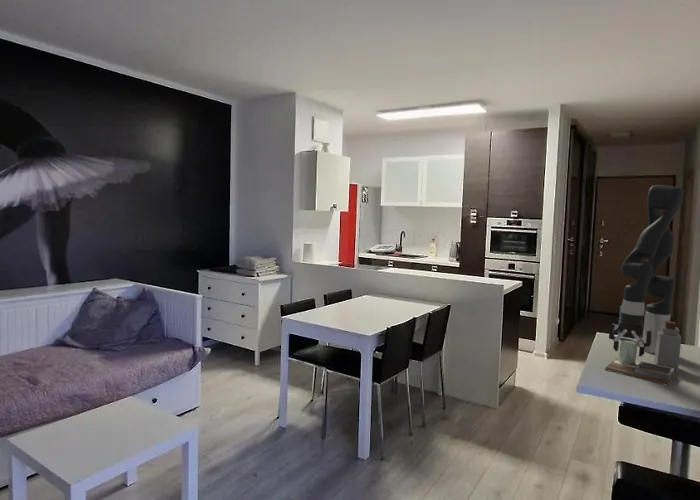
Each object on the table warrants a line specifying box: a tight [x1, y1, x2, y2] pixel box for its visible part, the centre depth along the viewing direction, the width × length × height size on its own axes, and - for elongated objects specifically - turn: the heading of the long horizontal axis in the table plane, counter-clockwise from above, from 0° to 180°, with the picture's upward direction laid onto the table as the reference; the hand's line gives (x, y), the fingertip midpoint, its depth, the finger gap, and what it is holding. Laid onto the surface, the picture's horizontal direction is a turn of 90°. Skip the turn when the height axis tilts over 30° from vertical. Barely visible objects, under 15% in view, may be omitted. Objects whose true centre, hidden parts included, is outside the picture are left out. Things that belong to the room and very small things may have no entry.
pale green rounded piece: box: [618, 340, 638, 365], centre depth 183 cm, size 6×8×8 cm
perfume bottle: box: [653, 320, 682, 373], centre depth 184 cm, size 7×7×18 cm
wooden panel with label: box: [605, 357, 678, 386], centre depth 178 cm, size 17×20×3 cm
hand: (628, 353), depth 184 cm, fingers open, 8 cm apart
